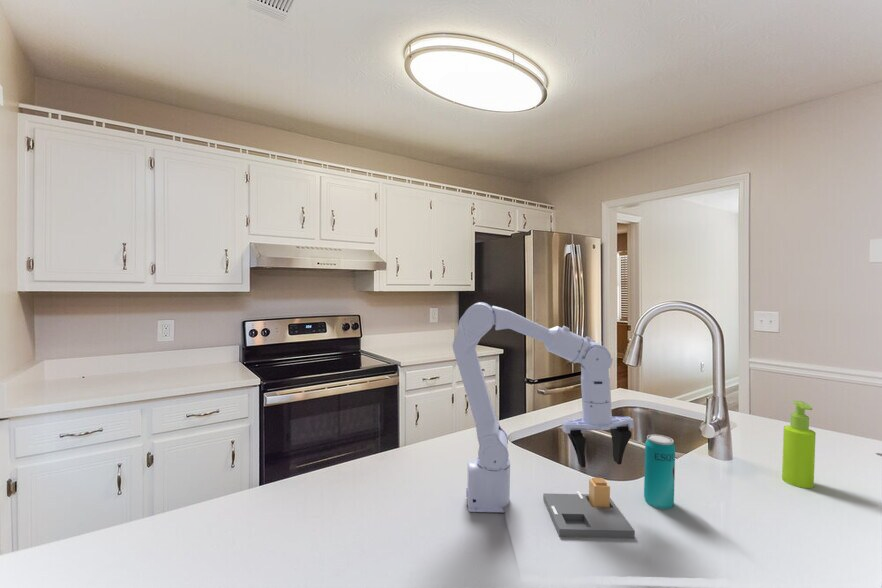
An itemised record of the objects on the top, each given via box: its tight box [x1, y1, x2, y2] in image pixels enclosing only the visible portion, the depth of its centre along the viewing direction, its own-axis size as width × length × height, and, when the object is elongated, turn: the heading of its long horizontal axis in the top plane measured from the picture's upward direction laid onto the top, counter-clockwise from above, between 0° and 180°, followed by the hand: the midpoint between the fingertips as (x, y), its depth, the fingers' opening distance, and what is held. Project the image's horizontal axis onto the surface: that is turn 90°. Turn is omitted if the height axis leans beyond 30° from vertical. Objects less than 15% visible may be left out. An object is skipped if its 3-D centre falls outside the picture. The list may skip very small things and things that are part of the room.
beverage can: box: [643, 433, 676, 510], centre depth 89 cm, size 6×6×15 cm
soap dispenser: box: [781, 400, 817, 489], centre depth 100 cm, size 6×7×20 cm
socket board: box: [542, 490, 636, 539], centre depth 84 cm, size 14×14×2 cm
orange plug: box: [588, 477, 611, 508], centre depth 87 cm, size 3×3×6 cm
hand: (599, 463), depth 86 cm, fingers open, 7 cm apart
